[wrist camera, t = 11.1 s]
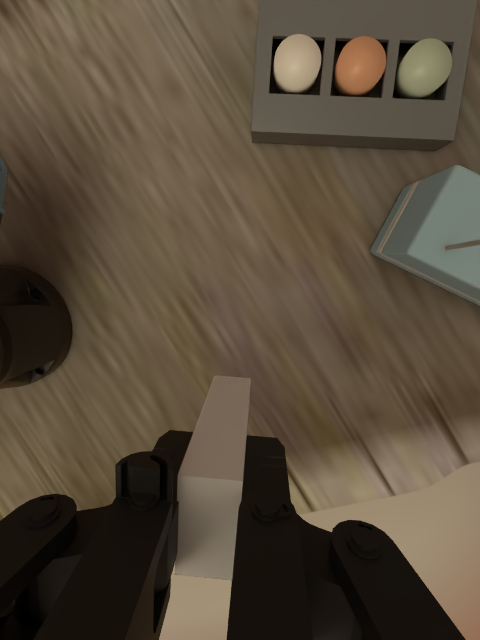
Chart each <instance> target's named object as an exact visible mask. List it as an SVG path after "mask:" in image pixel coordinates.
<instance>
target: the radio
mask: <svg viewBox="0 0 480 640" xmlns="http://www.w3.org/2000/svg"><path fill="white" fill-rule="evenodd" d="M370 253H372V254H373V255H375V256H377V257H379V258H381V259H383V260H386V261H388V262H390V263H392V264H394V265H396V266H398V267H400V268H402V269H404V270H406V271H408V272H410V273H412V274H414V275H417V276H419V277H421V278H423V279H425V280H427V281H429V282H431V283H433V284H435V285H437V286H439V287H441V288H443V289H445V290H448V291H450V292H452V293H454V294H456V295H458V296H460V297H462V298H464V299H466V300H468V301H470V302H472V303H474V304H477V305H479V306H480V175H479V174H477V173H475V172H473V171H471V170H469V169H467V168H465V167H463V166H460V165H454V166H452V167H450V168H447V169H445V170H443V171H440V172H438V173H436V174H433V175H431V176H429V177H426V178H424V179H422V180H419V181H417V182H415V183H412V184H410V185H408V186H406V187H404V188H403V190H402V191H401V193H400V195H399V197H398V199H397V201H396V202H395V204H394V206H393V208H392V210H391V212H390V214H389V215H388V217H387V219H386V221H385V223H384V225H383V227H382V228H381V230H380V232H379V234H378V236H377V238H376V240H375V241H374V243H373V245H372V247H371V249H370Z"/></svg>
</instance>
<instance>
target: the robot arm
mask: <svg viewBox="0 0 480 640" xmlns="http://www.w3.org/2000/svg"><path fill="white" fill-rule="evenodd" d="M6 183H7V168H6V165H5V163H4V161H3V160H2V158H1V157H0V223H1V218H2V215H3V216H4V215H5V209H4V208H3V203H4V196H5V190H6ZM71 336H72V327H71V320H70V316H69V312H68V310H67V307H66V305H65V303H64V301H63V299H62V298H61V296H60V295H59V293H58V292H57V291H56V290H55V288H54V287H53V286H52V285H51V284H50V283H49V282H48V281H46V280H45V279H44V278H42V277H41V276H39V275H38V274H36V273H34V272H32V271H30V270H27V269H24V268H20V267H16V266H0V389H2V388H11V387H19V386H24V385H28V384H31V383H34V382H36V381H38V380H40V379H41V378H43V377H45V376H46V375H48V374H50V373H51V372H53V371H54V370H55V369H56V368H57V367H58V366H59V365H60V364H61V363H62V361H63V360H64V358H65V357H66V355H67V352H68V350H69V347H70V343H71ZM250 383H251V378H241V377H228V376H215V375H214V378H213V381H212V383H211V386H210V389H209V391H208V394H207V397H206V400H205V402H204V405H203V408H202V410H201V413H200V416H199V419H198V421H197V424H196V427H195V430H194V432H186V431H174V430H169V431H168V432H167V433H165V434H164V435H163V436H161V437H160V438H159V439H158V441H157V443H156V445H155V447H154V449H153V451H148V452H138V453H134V454H131V455H129V456H127V457H125V458H123V459H121V460H120V461H119V462H118V463H117V464H116V498H115V500H114V501H113V503H112V504H110V505H108V506H105V507H100V508H95V509H88V510H81V511H77V506H76V504H75V502H74V500H73V499H72V498H70V497H68V496H66V495H60V494H51V495H43V496H40V497H37V498H34V499H32V500H29V501H28V502H26V503H24V504H23V505H21V506H19V507H18V508H17V509H15V510H14V511H13V512H11V513H10V514H9V515H7V516H6V517H5V518H3V519H2V520H1V521H0V640H159V637H160V633H161V629H162V625H163V621H164V617H165V614H166V610H167V606H168V602H169V598H170V586H171V585H170V584H171V582H170V581H171V574H172V571H173V567H174V563H175V575H184V576H194V577H205V578H214V579H223V580H232V587H231V598H230V609H229V620H228V631H227V640H465V638H464V637H463V636H462V634H461V633H460V632H459V630H458V629H457V627H456V626H455V625H454V623H453V622H452V621H451V619H450V618H449V616H448V615H447V614H446V613H445V611H444V610H443V608H442V607H441V606H440V604H439V603H438V601H437V600H436V599H435V597H434V596H433V595H432V593H431V592H430V591H429V589H428V588H427V587H426V585H425V584H424V582H423V581H422V580H421V579H420V577H419V576H418V574H417V573H416V572H415V570H414V569H413V568H412V566H411V565H410V563H409V562H408V561H407V559H406V558H405V557H404V555H403V554H402V552H401V551H400V550H399V548H398V547H397V546H396V544H395V543H394V542H393V540H392V539H390V537H389V536H388V535H387V534H386V533H385V532H384V531H382V530H380V529H379V528H377V527H375V526H374V525H372V524H368V523H366V522H362V521H357V520H347V521H344V522H340V523H339V524H337V525H336V526H335V527H334V528H333V531H332V532H329V531H326V530H324V529H321V528H318V527H316V526H313V525H311V524H309V523H308V522H306V521H305V520H303V519H302V518H301V517H300V516H299V515H298V514H297V513H296V511H295V508H294V506H293V504H292V503H291V499H290V491H289V482H288V474H287V465H286V457H285V448H284V446H283V445H282V444H281V442H280V441H279V440H278V439H277V438H271V437H259V436H247V427H248V412H249V398H250Z"/></svg>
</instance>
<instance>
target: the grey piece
mask: <svg viewBox="0 0 480 640" xmlns="http://www.w3.org/2000/svg"><path fill="white" fill-rule="evenodd" d="M477 1H478V0H259V13H258V29H257V46H256V63H255V79H254V96H253V113H252V129H251V132H252V143H272V144H293V145H314V146H336V147H357V148H378V149H400V150H421V151H436V150H438V149H440V148H442V147H443V146H445V145H447V144H449V143H450V142H452V141H454V139H455V133H456V127H457V121H458V115H459V109H460V103H461V97H462V91H463V85H464V79H465V73H466V67H467V61H468V55H469V49H470V43H471V37H472V31H473V25H474V19H475V13H476V7H477ZM295 34H303V35H307V36H309V37H311V38H312V39H313V40H324V50H323V61H322V71H321V82H320V93H319V95H297V94H272V93H269V85H270V70H271V55H272V40H273V39H286V38H287V37H289V36H291V35H295ZM361 36H368V37H372V38H374V39H376V40H377V41H378V42H384V43H387V50H386V66H385V70H384V74H383V82H382V90H381V98H371V97H346V96H330V92H331V82H332V72H333V62H334V52H335V42H336V41H351V40H352V39H354V38H357V37H361ZM428 38H433V39H438V40H440V41H442V42H443V43H444V44H446V46H447V47H448V48H449V50H450V52H451V56H452V68H451V71H450V74H449V76H448V78H447V79H446V81H445V82H444V83H443V84H442V85H441V86H440V87H439V88H437V92H436V98H435V100H420V99H395V98H392V97H393V90H394V82H395V74H396V67H397V59H398V51H399V44H400V43H414V44H416V43H417V42H419V41H421V40H424V39H428Z"/></svg>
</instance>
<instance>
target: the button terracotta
mask: <svg viewBox="0 0 480 640" xmlns="http://www.w3.org/2000/svg"><path fill="white" fill-rule="evenodd" d="M385 66H386V54H385V51H384V48H383V47H382V45H381V44H380V43H379V42H378V41H377V40H376V39H374V38H372V37H368V36H361V37H357V38H354V39H352V40H351V41H350V42H348V43H347V44H346V45H345V47H344V48H343V50H342V51H341V54H340V56H339V58H338V61H337V63H336V66H335V68H334V72H333V83H334V86H335V88H336V90H337V92H338V93H339V94H340V95H341V96H346V97H365V96H366V95H367V94H369V93H370V92H371V90H372V89H373V88H374V86H375V85H376V83H377V82H378V81H379V79H380V78H381V76H382V74H383V72H384V70H385Z"/></svg>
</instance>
